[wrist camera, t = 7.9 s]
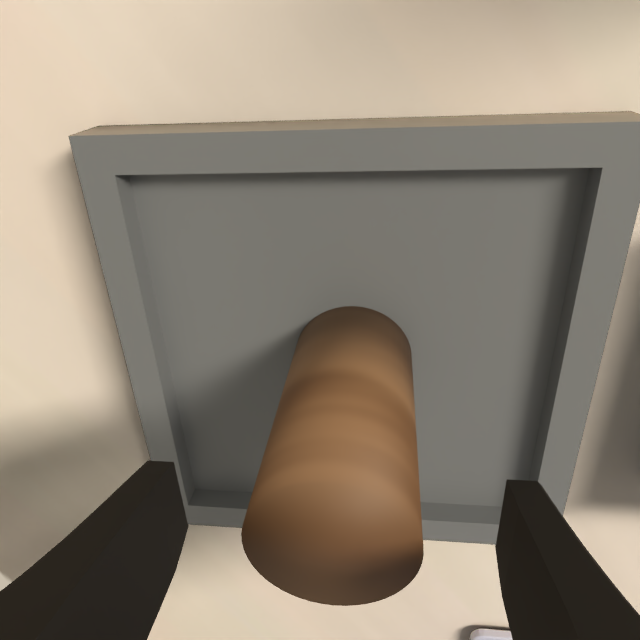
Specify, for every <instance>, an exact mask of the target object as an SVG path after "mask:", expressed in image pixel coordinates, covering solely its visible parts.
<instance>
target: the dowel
mask: <svg viewBox="0 0 640 640" xmlns="http://www.w3.org/2000/svg"><path fill="white" fill-rule="evenodd" d="M241 535H242V544H243V548H244V551H245V553H246V555H247V557H248V559H249V561H250V562H251V564H252V565H253V566H254V568H255V569H256V570H257V571H258V572H259V573H260V574H261V575H262V576H263V577H264V578H265V579H266V580H268V581H269V582H270V583H272V584H273V585H275V586H276V587H278V588H280V589H281V590H283V591H285V592H287V593H289V594H291V595H294V596H296V597H299V598H302V599H305V600H308V601H312V602H317V603H321V604H329V605H342V606H347V605H360V604H367V603H372V602H376V601H379V600H382V599H385V598H387V597H389V596H392V595H394V594H396V593H397V592H399V591H400V590H402V589H403V588H404V587H406V586H407V585H408V584H409V583H410V582H411V581H412V580H413V579H414V577H415V576H416V574H417V573H418V571H419V569H420V567H421V564H422V560H423V535H422V518H421V502H420V485H419V469H418V452H417V436H416V419H415V403H414V386H413V370H412V353H411V348H410V344H409V341H408V339H407V337H406V335H405V333H404V332H403V331H402V329H401V328H400V327H399V326H398V325H397V324H396V323H395V322H394V321H393V320H391V319H390V318H389V317H387V316H386V315H384V314H382V313H380V312H378V311H375V310H372V309H369V308H364V307H358V306H344V307H338V308H334V309H331V310H328V311H326V312H323V313H321V314H320V315H318V316H316V317H315V318H314V319H312V320H311V321H310V322H309V323H308V324H307V325H306V327H305V328H304V329H303V331H302V332H301V334H300V337H299V339H298V342H297V346H296V349H295V352H294V355H293V359H292V362H291V365H290V369H289V372H288V375H287V379H286V382H285V385H284V389H283V392H282V395H281V399H280V402H279V405H278V409H277V412H276V415H275V419H274V422H273V425H272V429H271V432H270V435H269V439H268V442H267V445H266V449H265V452H264V455H263V459H262V462H261V465H260V469H259V472H258V475H257V479H256V482H255V485H254V489H253V492H252V495H251V499H250V502H249V505H248V509H247V512H246V515H245V519H244V522H243V525H242V533H241Z"/></svg>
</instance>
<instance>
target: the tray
mask: <svg viewBox="0 0 640 640" xmlns="http://www.w3.org/2000/svg"><path fill="white" fill-rule="evenodd" d="M69 140H70V144H71V148H72V152H73V156H74V160H75V164H76V168H77V172H78V176H79V179H80V183H81V187H82V191H83V195H84V199H85V203H86V207H87V211H88V215H89V219H90V223H91V227H92V231H93V235H94V239H95V242H96V246H97V250H98V254H99V258H100V262H101V266H102V270H103V274H104V278H105V282H106V286H107V290H108V294H109V298H110V302H111V305H112V309H113V313H114V317H115V321H116V325H117V329H118V333H119V337H120V341H121V345H122V349H123V353H124V357H125V361H126V365H127V368H128V372H129V376H130V380H131V384H132V388H133V392H134V396H135V400H136V404H137V408H138V412H139V416H140V420H141V424H142V428H143V431H144V435H145V439H146V443H147V447H148V451H149V455H150V459H151V461H166V462H174V465H175V469H176V474H177V478H178V483H179V487H180V492H181V496H182V500H183V505H184V509H185V514H186V518H187V523H188V524H190V525H206V526H221V527H236V528H242V525H243V522H244V519H245V515H246V512H247V509H248V505H249V502H250V499H251V495H252V492H253V489H254V485H255V482H256V479H257V475H258V472H259V469H260V465H261V462H262V459H263V455H264V452H265V449H266V445H267V442H268V439H269V435H270V432H271V429H272V425H273V422H274V419H275V415H276V412H277V409H278V405H279V402H280V399H281V395H282V392H283V389H284V385H285V382H286V379H287V375H288V372H289V369H290V365H291V362H292V359H293V355H294V352H295V349H296V346H297V342H298V339H299V337H300V334H301V332H302V331H303V329H304V328H305V327H306V325H307V324H308V323H309V322H310V321H311V320H312V319H314V318H315V317H316V316H318V315H320V314H321V313H323V312H326V311H328V310H331V309H334V308H338V307H344V306H358V307H364V308H369V309H372V310H375V311H378V312H380V313H382V314H384V315H386V316H387V317H389V318H390V319H391V320H393V321H394V322H395V323H396V324H397V325H398V326H399V327H400V328H401V329H402V331H403V332H404V333H405V335H406V337H407V339H408V341H409V344H410V348H411V353H412V370H413V386H414V403H415V419H416V436H417V452H418V469H419V485H420V502H421V518H422V535H423V540H434V541H449V542H465V543H480V544H495V545H496V540H497V534H498V528H499V522H500V516H501V510H502V504H503V498H504V492H505V486H506V480H507V479H509V480H528V481H538V482H539V483H540V484H541V485H542V486H543V488H544V489H545V491H546V493H547V494H548V496H549V497H550V498H551V500H552V501H553V503H554V504H555V506H556V507H557V509H558V510H559V512H560V513H561V515H562V516H563V513H564V509H565V505H566V501H567V496H568V492H569V488H570V484H571V480H572V476H573V472H574V468H575V464H576V460H577V456H578V452H579V448H580V444H581V440H582V435H583V431H584V427H585V423H586V419H587V415H588V411H589V407H590V403H591V399H592V395H593V391H594V387H595V383H596V379H597V374H598V370H599V366H600V362H601V358H602V354H603V350H604V346H605V342H606V338H607V334H608V330H609V326H610V322H611V318H612V313H613V309H614V305H615V301H616V297H617V293H618V289H619V285H620V281H621V277H622V273H623V269H624V265H625V261H626V257H627V252H628V248H629V244H630V240H631V236H632V232H633V228H634V224H635V220H636V216H637V212H638V208H639V204H640V114H638V113H635V112H632V111H621V112H584V113H548V114H512V115H475V116H439V117H403V118H366V119H330V120H294V121H257V122H221V123H185V124H148V125H112V126H97V127H94V128H91V129H88V130H85V131H82V132H79V133H76V134H73V135H70V136H69Z"/></svg>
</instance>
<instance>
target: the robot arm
mask: <svg viewBox="0 0 640 640" xmlns="http://www.w3.org/2000/svg"><path fill="white" fill-rule="evenodd" d="M187 529H188V523H187V518H186V514H185V509H184V505H183V500H182V496H181V492H180V487H179V483H178V478H177V474H176V469H175V465H174V462H166V461H147V462H146V463H145V464H144V465H143V466H142V467H141V468H139V469H138V470H137V471H136V472H135V473H134V474H133V475H132V476H131V477H130V478H129V479H128V480H127V481H126V482H125V483H124V484H122V485H121V486H120V487H119V488H118V489H117V490H116V491H115V492H114V493H113V494H112V495H111V496H110V497H109V498H108V499H107V500H106V501H105V502H104V503H103V504H101V505H100V506H99V507H98V508H97V509H96V510H95V511H94V512H93V513H92V514H91V515H90V516H89V517H87V518H86V519H85V520H84V521H83V522H82V523H81V524H80V525H79V526H78V527H77V528H76V529H74V530H73V531H72V532H71V533H70V534H69V535H68V536H67V537H66V538H64V539H63V540H62V541H61V542H60V543H59V544H58V545H56V546H55V547H54V548H53V549H52V550H50V551H49V552H48V553H47V554H46V555H45V556H43V557H42V558H41V559H40V560H39V561H38V562H36V563H35V564H34V565H33V566H32V567H31V568H29V569H28V570H27V571H26V572H24V573H23V574H22V575H21V576H19V577H18V578H17V579H16V580H14V581H13V582H12V583H11V584H9V585H8V586H7V587H5V588H4V589H3V590H1V591H0V640H147V638H148V636H149V633H150V631H151V628H152V626H153V624H154V621H155V619H156V617H157V614H158V612H159V610H160V607H161V605H162V602H163V600H164V598H165V595H166V593H167V590H168V588H169V586H170V583H171V581H172V578H173V576H174V573H175V571H176V567H177V564H178V561H179V557H180V554H181V551H182V547H183V544H184V540H185V536H186V533H187ZM496 555H497V563H498V570H499V578H500V585H501V591H502V598H503V602H504V606H505V610H506V614H507V618H508V623H509V627H510V631H506V630H495V629H476V630H474V631H473V632H472V633H471V635H470V640H640V615H639V614H638V613H637V612H636V610H635V609H634V608H633V607H632V606H631V604H630V603H629V602H628V601H627V600H626V599H625V597H624V596H623V595H622V594H621V592H620V591H619V590H618V589H617V588H616V586H615V585H614V584H613V583H612V581H611V580H610V579H609V578H608V576H607V575H606V574H605V572H604V571H603V570H602V569H601V567H600V566H599V565H598V563H597V562H596V561H595V560H594V558H593V557H592V556H591V554H590V553H589V552H588V551H587V549H586V548H585V546H584V545H583V544H582V542H581V541H580V540H579V538H578V537H577V536H576V534H575V533H574V531H573V530H572V529H571V527H570V526H569V524H568V523H567V522H566V520H565V519H564V517H563V516H562V515H561V513H560V512H559V510H558V509H557V507H556V506H555V504H554V503H553V501H552V500H551V498H550V497H549V496H548V494H547V493H546V491H545V489H544V488H543V486H542V485H541V484H540V483H539V482H538V481H528V480H509V479H507V480H506V486H505V492H504V498H503V504H502V510H501V516H500V522H499V528H498V534H497V540H496Z"/></svg>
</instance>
